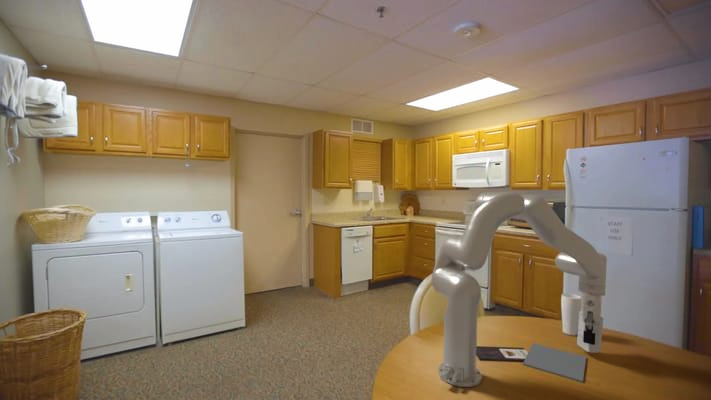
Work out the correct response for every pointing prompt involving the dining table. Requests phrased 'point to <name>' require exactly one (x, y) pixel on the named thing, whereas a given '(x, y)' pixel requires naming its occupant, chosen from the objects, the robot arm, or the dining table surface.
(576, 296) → the white hollow tapered cylinder
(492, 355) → the chocolate bar
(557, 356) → the mat
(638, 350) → the dining table surface
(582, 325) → the skincare box
